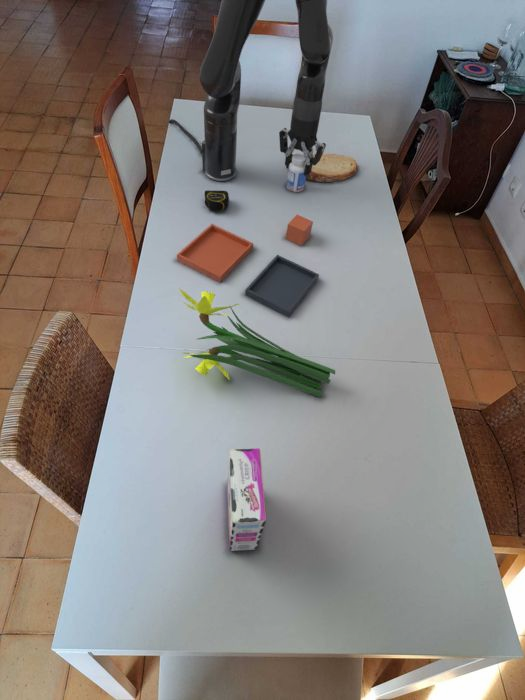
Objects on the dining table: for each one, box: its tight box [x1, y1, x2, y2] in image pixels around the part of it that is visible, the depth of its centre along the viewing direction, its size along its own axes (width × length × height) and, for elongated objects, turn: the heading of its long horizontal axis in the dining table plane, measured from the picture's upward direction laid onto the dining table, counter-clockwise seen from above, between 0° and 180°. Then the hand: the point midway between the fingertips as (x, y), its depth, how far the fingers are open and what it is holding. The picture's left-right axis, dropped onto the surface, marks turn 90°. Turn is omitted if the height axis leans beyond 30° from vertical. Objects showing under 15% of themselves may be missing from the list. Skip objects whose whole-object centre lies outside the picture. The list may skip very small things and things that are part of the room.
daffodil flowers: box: [178, 287, 336, 398], centre depth 92 cm, size 17×15×35 cm
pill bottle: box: [286, 153, 307, 193], centre depth 134 cm, size 6×5×10 cm
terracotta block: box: [285, 214, 314, 247], centre depth 122 cm, size 5×5×5 cm
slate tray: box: [244, 254, 320, 318], centre depth 112 cm, size 12×15×2 cm
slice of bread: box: [305, 153, 358, 183], centre depth 144 cm, size 18×18×4 cm
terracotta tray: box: [176, 223, 254, 283], centre depth 117 cm, size 13×15×2 cm
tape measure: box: [204, 190, 230, 212], centre depth 128 cm, size 7×7×4 cm
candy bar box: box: [226, 447, 267, 552], centre depth 72 cm, size 11×5×16 cm, turn 5°
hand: (297, 170), depth 134 cm, fingers closed on pill bottle, 5 cm apart
